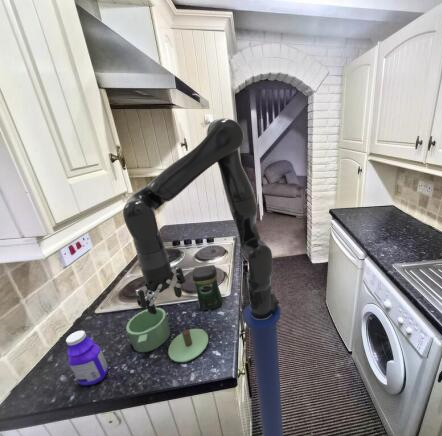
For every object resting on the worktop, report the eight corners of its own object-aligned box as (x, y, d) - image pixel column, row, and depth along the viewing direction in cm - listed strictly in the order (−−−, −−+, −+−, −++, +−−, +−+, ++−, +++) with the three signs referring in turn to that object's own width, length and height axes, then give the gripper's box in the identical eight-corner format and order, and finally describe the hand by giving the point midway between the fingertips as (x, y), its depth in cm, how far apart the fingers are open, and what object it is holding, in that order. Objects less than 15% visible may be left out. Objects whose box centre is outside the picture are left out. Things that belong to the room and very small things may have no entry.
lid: (208, 326, 88) (205, 313, 86) (209, 355, 77) (206, 341, 75) (171, 337, 84) (167, 323, 82) (166, 369, 73) (161, 354, 70)
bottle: (113, 365, 74) (95, 325, 68) (104, 383, 69) (83, 341, 63) (87, 371, 73) (66, 330, 67) (76, 389, 68) (52, 347, 61)
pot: (172, 316, 94) (168, 299, 91) (167, 351, 79) (161, 333, 75) (139, 324, 90) (133, 308, 87) (126, 364, 75) (119, 345, 72)
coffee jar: (222, 296, 104) (216, 261, 97) (222, 308, 97) (215, 271, 90) (200, 300, 102) (192, 264, 95) (197, 312, 95) (189, 275, 88)
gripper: (136, 278, 61) (152, 324, 67) (183, 253, 72) (193, 294, 78) (122, 270, 64) (138, 315, 70) (168, 248, 76) (179, 288, 82)
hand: (167, 304), depth 74 cm, fingers open, 8 cm apart
